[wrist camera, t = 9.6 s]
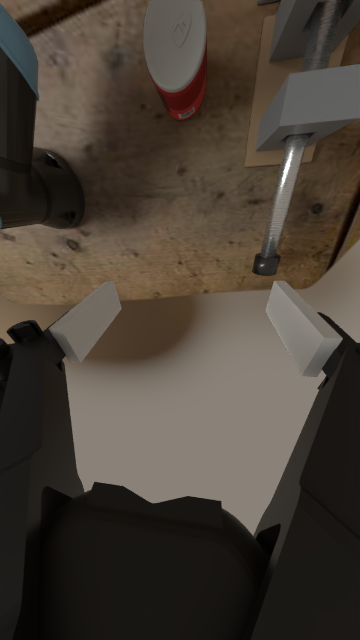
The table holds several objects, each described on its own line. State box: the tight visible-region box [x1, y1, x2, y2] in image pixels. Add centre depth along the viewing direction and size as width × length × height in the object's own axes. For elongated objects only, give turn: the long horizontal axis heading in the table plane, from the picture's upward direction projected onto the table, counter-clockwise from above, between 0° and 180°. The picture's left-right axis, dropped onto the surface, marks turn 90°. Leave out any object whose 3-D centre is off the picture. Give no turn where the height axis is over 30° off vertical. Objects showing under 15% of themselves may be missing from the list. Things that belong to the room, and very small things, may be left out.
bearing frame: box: [244, 0, 360, 168], centre depth 23 cm, size 16×12×14 cm
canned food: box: [143, 0, 207, 120], centre depth 25 cm, size 8×8×11 cm
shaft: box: [252, 0, 346, 276], centre depth 28 cm, size 31×5×5 cm, turn 2°
